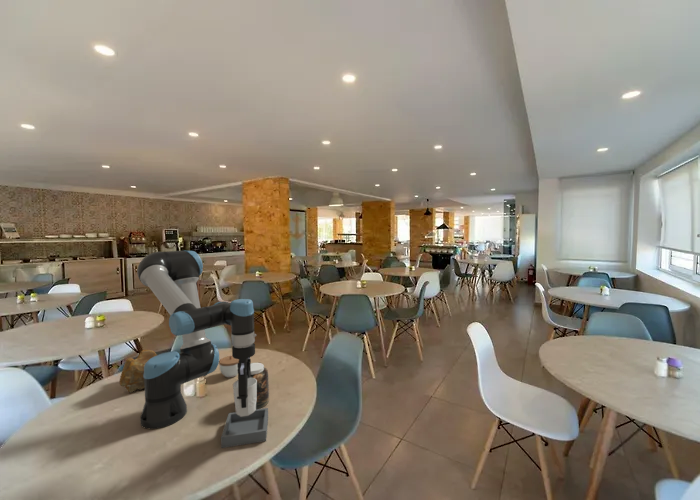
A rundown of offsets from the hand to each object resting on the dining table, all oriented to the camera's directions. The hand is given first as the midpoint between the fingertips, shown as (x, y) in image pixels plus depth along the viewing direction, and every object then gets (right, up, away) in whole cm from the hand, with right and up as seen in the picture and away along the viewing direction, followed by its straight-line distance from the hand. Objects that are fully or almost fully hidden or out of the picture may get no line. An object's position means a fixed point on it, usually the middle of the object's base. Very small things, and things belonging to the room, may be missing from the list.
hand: (246, 408), depth 106 cm
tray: (0, -8, 0) cm, 8 cm away
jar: (-3, -8, +19) cm, 21 cm away
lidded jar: (-23, -7, +46) cm, 52 cm away
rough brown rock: (-59, -8, +37) cm, 70 cm away
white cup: (0, -1, 0) cm, 1 cm away
